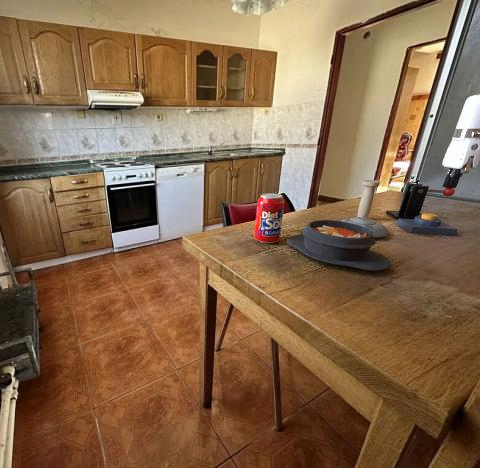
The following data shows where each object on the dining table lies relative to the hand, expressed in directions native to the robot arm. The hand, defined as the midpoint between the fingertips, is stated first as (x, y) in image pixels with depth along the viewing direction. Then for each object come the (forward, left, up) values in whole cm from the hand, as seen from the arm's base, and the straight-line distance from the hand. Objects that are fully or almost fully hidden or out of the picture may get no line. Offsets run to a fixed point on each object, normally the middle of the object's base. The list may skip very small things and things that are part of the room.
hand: (449, 187), depth 95 cm
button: (+12, +15, -8) cm, 21 cm away
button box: (+12, +15, -12) cm, 23 cm away
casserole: (+48, +45, -12) cm, 67 cm away
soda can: (+65, +37, -12) cm, 75 cm away
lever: (+5, 0, -3) cm, 5 cm away
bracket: (+10, 0, -12) cm, 15 cm away
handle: (+28, +7, -12) cm, 31 cm away
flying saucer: (+34, +23, -12) cm, 43 cm away
